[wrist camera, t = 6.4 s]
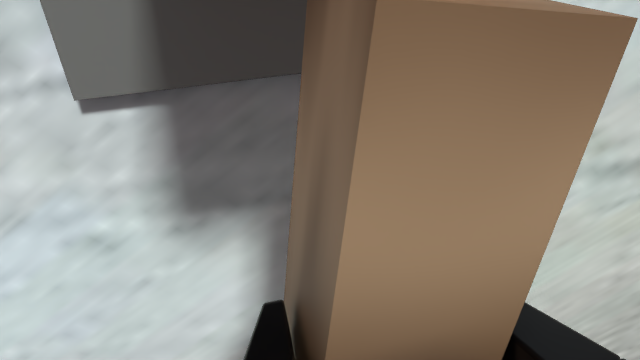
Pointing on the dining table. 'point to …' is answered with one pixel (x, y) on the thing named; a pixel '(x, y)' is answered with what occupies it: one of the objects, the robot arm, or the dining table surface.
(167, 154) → the dining table surface
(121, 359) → the dining table surface
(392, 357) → the plain wood plank
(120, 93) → the mat
